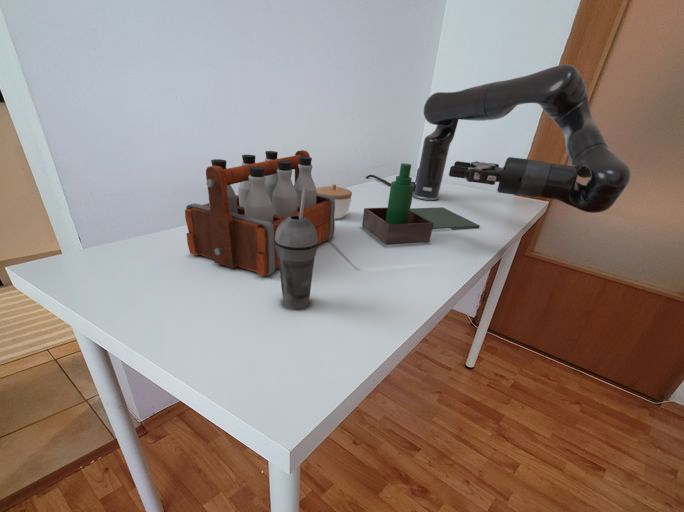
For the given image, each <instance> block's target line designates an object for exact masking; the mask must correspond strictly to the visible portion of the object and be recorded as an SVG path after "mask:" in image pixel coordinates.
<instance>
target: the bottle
mask: <svg viewBox="0 0 684 512" xmlns="http://www.w3.org/2000/svg"><path fill="white" fill-rule="evenodd" d="M411 170H412V164H411V163H406V162H405V163H403V162H402V163H400V168H399V173H398V175H396V177H395V180H394V181H393V180H392V181H391V182H390V183H391V186H390V190H389V196H388V203H387V207H388V208H387V215H386V221H385V222H387V223H388V224H390V225H391V224H407V223H408V218H409V213H410V208H412V207H411V206H412V202H413V197H414V196H413V191H414V186H415V185H414V184H413V183H411V182H412V180H413V178H412V177H411Z"/></svg>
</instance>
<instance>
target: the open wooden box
mask: <svg viewBox="0 0 684 512" xmlns="http://www.w3.org/2000/svg"><path fill="white" fill-rule="evenodd" d="M387 208H388V206H387V207H364V208H363V215H362V223H361V227H362V228H363V229H365V230H366V231H367V232H369V233H370V234H371V235H373V236H374V237H375V238H376V239H377V240H379V241H380V242H381V243H382V244H384V245H385V246H394V245H405V244H407V245H408V244H421V243H430V240H431V237H432V232H433V229H432V228H433V224H434V223H432V222H431V221H429V220H427V219H425V218H424V217H422V216H420V215H418V214H417V213H415V212H413V211H411V210H410V213H409V218H408V223H407V224H391V225H390V224H388V223H387V222H385V221H386V215H387Z"/></svg>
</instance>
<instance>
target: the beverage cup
mask: <svg viewBox="0 0 684 512" xmlns="http://www.w3.org/2000/svg"><path fill="white" fill-rule="evenodd" d="M305 195H306V187H303V192H302V200H301V208H300V215H299V216H297V215H294V216H290V217H287V218H286V219H284V220H283V221H282V222H281V223H280V225H279V226H278V228H277V231H276V235H275V240H274V242H275V244H276V250H277V254H278V259H279V268H278V269H279V277H280V285H281V294H282V295H281V296H282V299H283V305H284V306H285V308H288V309H291V310H303V309H305V308H307V307H308V306H309V300H310V296H311V290H312V289H311V288H312V280H313V274H314V273H313V272H314V266H315V265H314V264H315V257H316V254H317V250H318V246H319V245H318V237H317V232H316V230H315V228H314V226H313V224H312V223H311V222H310V221H309V220H308V219H306V218H305V217H303V210H304V203H305Z"/></svg>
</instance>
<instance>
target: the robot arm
mask: <svg viewBox="0 0 684 512" xmlns="http://www.w3.org/2000/svg"><path fill="white" fill-rule="evenodd" d="M588 95H589V94H588V89H587V84H586V82H585V80H584V79H583V77H582V75H581V74H580V71H579V70H578V68H576V67H575V66H574V65H572V64H567V63H566V64H559V65H555V66H552V67H549V68H546V69H543V70H540V71H537V72H534V73H531V74H528V75H523V76H518V77H514V78H510V79H506V80H498V81H494V82H493V81H492V82H489V83H485V84H481V85H476V86H472V87H469V88H465V89H461V90H458V91H449V92H446V91H445V92H444V91H437V92H435V93H433V94H431V95H430V96H429V97H428V98H427V100H426V101H425V103H424V105H423V117H424V118H425V120H426V121H427V123H429V124H431V125H436V126H435V129H434V131H433V132H431V133H430V134H428V135H426V136H425V137H424V139H423V144H422V150H421V153H420V159H419V160H420V161H419V165H418V167H417V170H416V176H415V181H411V183H413V184H414V185H415V186H414V191H413V196H412V197H414V198H416V199H419V200H423V201H437V200H438V199H439V194H440V191H441V185H442V181H443V176H444V173H445V169H446V163H447V160H448V155H449V150H450V145H451V143H452V141H453V140H454V138H455V134H456V131H457V128H458V123H459V120H461V121H462V120H463V121H473V122H479V121H480V122H481V121H482V122H483V121H492V120H493V121H494V120H499V119H503V118H504V117H506V116H508V115H509V114H510V113H511V112H512V111H514V109H515V108H516V107H517V106H520V105H525V104H537V105H540V107H541V108H542V110H543V111H544V113H545V114H546V115H547V116H548V117H549V118H550V119H551V120H552V121H553V122H554V123H555V124H556V126H557V127H558V128H559V129H560V130H561V132H562V135H563V136H564V143H565V150H566V153H567V156H568V159H569V161H570V164H571V165H568V164H559V163H553V162H552V163H551V162H547V161H543V160H538V159H537V160H536V159H529V158H521V157H513V156H512V157H511V156H509V157H507V158H506V160H505V163H504V166H503V167H501V166H500V164H498V163H495V162H485V161H477V160H476V161H472V162H468V161H461V160H460V161H458V160H456V161H455V162H454V165H452V166H450V167H449V172H448V176H449V177H451V178H458V179H464V180H465V181H467V182H468V183H477V184H484V185H491V186H495V184H496V183H498V185H497V189H496V190H497V192H498V194H499V193H500V194H506V195H513V196H519V197H520V196H521V197H527V198H543V199H550V200H557V201H558V202H559V201H560V202H562V203H564V204H566V205H568V206H571V207H573V208H575V209H577V210H580V211H583V212H585V213H590V214H597V213H603V212H605V211H607V210H609V209H610V208H611V207H613V206H614V204H615V202H616V201H617V200H618V198H619V197H620V196H621V195H622V193H623V192H624V191H625V189H626V188H627V187H628V185H629V183H630V181H631V176H632V173H631V168H630V166H629V165H628V163H626V162H625V161H624V160H622V159H621V158H619V156H617V154H615V153H614V152H613V151H611V150H610V148H609V146H608V143H607V141H606V139H605V137H604V135H603V133H602V132H601V129H600V128H599V126H598V125H597V124H596V122H595V120H594V118H593V115H592V112H591V109H590V102H589V96H588ZM578 177H580V178H582V179H583V178H584V179H588V180H587V182H586V183H585V184H583V183H580V182H578ZM370 178H374V179H376V180H378V181H380V182H383V183H385V184H386V185H388V186H389V187H391V182H389V181H387V180H385V179H384V178H380V177H378V176H377V175H375V174H369V175H366V176H365V179H370Z"/></svg>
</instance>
